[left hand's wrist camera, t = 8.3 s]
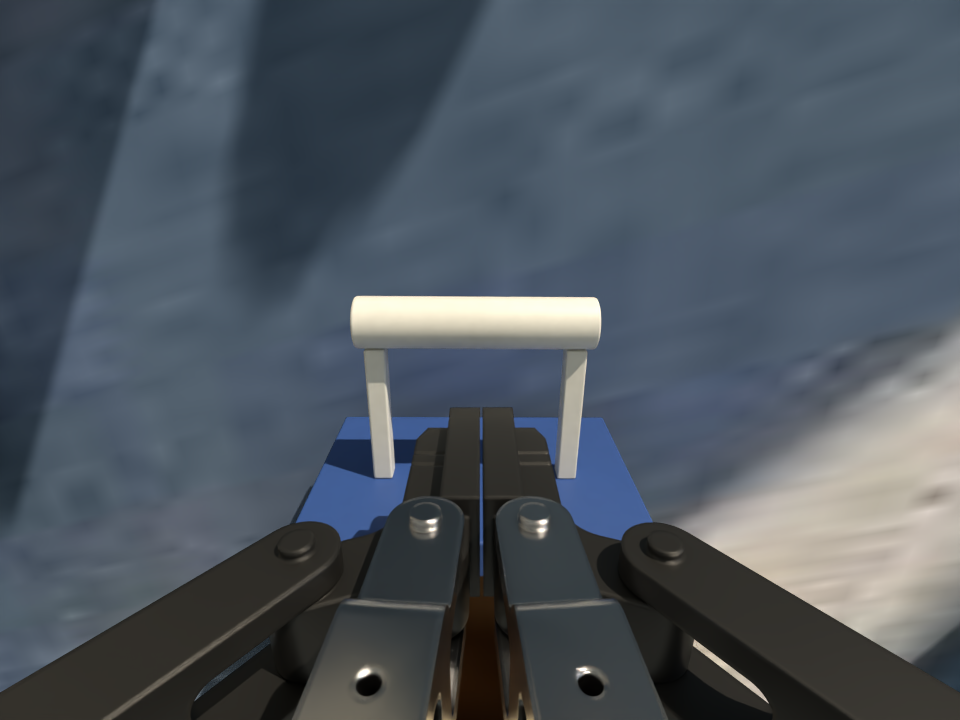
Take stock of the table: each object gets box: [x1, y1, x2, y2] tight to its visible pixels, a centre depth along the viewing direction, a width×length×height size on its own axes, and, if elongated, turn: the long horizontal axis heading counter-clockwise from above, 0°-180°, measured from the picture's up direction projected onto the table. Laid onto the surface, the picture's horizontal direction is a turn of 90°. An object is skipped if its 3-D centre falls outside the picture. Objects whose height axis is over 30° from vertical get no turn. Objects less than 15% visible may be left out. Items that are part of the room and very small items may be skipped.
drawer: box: [296, 296, 653, 720], centre depth 19 cm, size 23×10×7 cm, turn 0°
